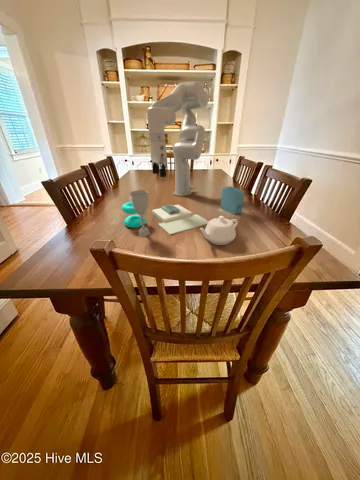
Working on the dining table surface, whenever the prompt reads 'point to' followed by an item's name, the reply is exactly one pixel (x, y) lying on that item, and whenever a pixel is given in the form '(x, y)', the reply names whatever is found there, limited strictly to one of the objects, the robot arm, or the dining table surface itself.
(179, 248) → the dining table surface
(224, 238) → the teapot
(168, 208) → the tile
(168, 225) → the mat
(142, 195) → the chalice
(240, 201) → the data package
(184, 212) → the block
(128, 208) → the donuts
